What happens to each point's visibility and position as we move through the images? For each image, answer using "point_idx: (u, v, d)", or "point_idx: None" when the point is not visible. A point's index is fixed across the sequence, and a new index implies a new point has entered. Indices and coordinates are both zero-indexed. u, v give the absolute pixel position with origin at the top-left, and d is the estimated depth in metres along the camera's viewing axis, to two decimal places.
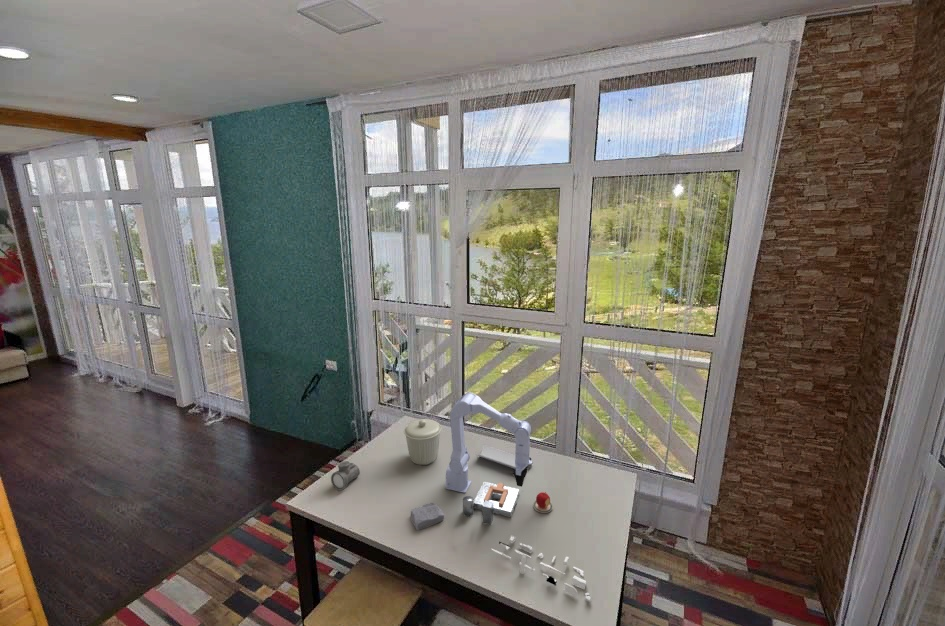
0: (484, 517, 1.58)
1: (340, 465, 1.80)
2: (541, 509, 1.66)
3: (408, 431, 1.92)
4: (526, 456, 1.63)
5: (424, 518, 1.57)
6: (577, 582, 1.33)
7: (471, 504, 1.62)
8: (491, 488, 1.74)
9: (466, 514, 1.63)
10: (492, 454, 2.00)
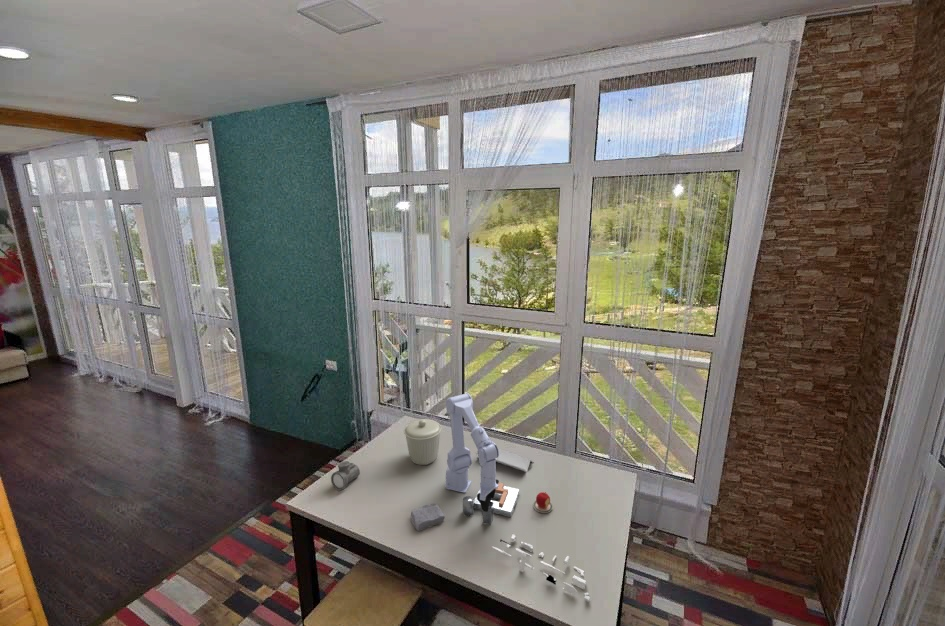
0: (484, 517, 1.58)
1: (340, 465, 1.80)
2: (541, 509, 1.66)
3: (408, 431, 1.92)
4: (491, 479, 1.53)
5: (424, 519, 1.57)
6: (577, 582, 1.33)
7: (471, 504, 1.62)
8: None
9: (466, 514, 1.63)
10: None
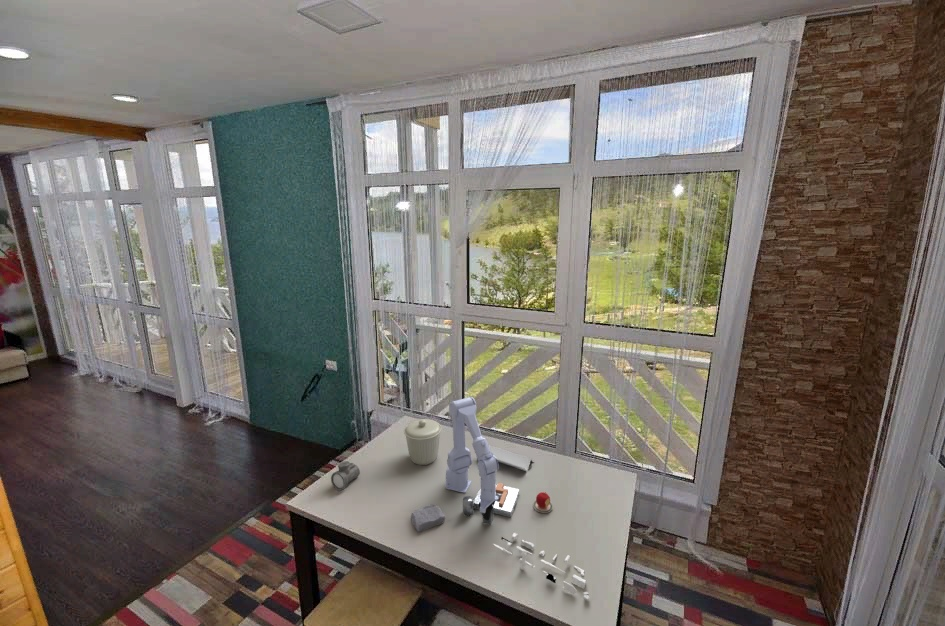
0: None
1: (340, 465, 1.80)
2: (541, 509, 1.66)
3: (408, 431, 1.92)
4: (491, 492, 1.54)
5: (425, 520, 1.56)
6: (577, 581, 1.33)
7: (471, 504, 1.62)
8: None
9: (466, 514, 1.63)
10: (493, 453, 2.01)
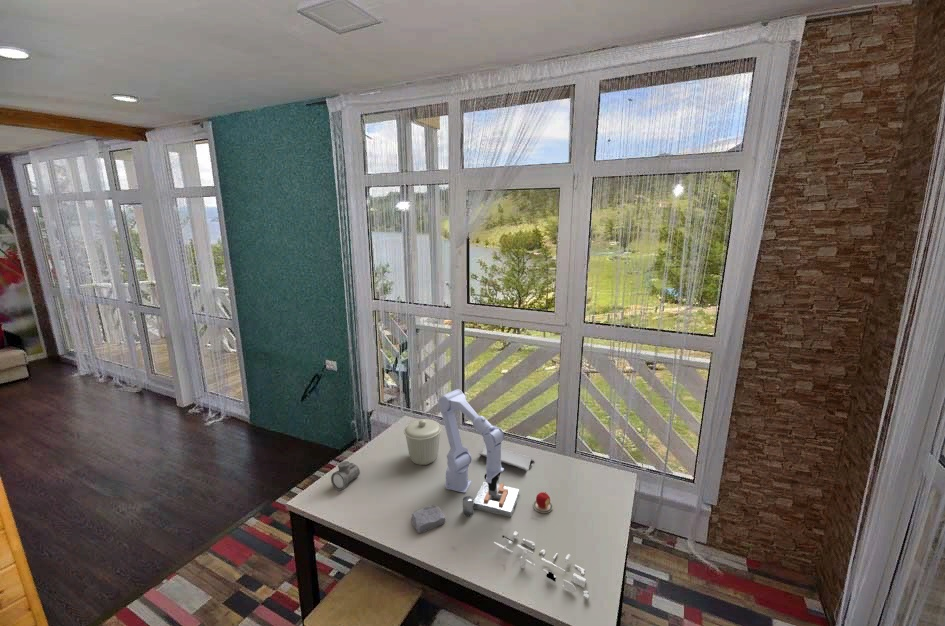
0: None
1: (340, 465, 1.80)
2: (541, 509, 1.66)
3: (408, 431, 1.92)
4: (497, 463, 1.59)
5: (426, 521, 1.56)
6: (577, 580, 1.33)
7: (471, 504, 1.62)
8: None
9: (466, 514, 1.63)
10: None
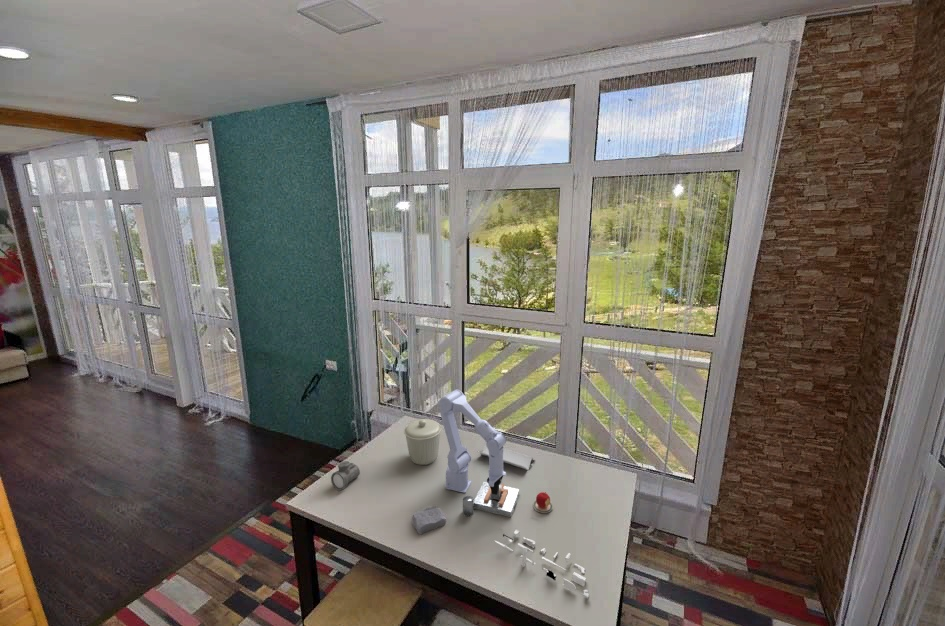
0: None
1: (340, 465, 1.80)
2: (541, 509, 1.66)
3: (408, 431, 1.92)
4: (499, 467, 1.63)
5: (426, 522, 1.55)
6: (577, 579, 1.34)
7: (471, 504, 1.62)
8: None
9: (466, 514, 1.63)
10: None
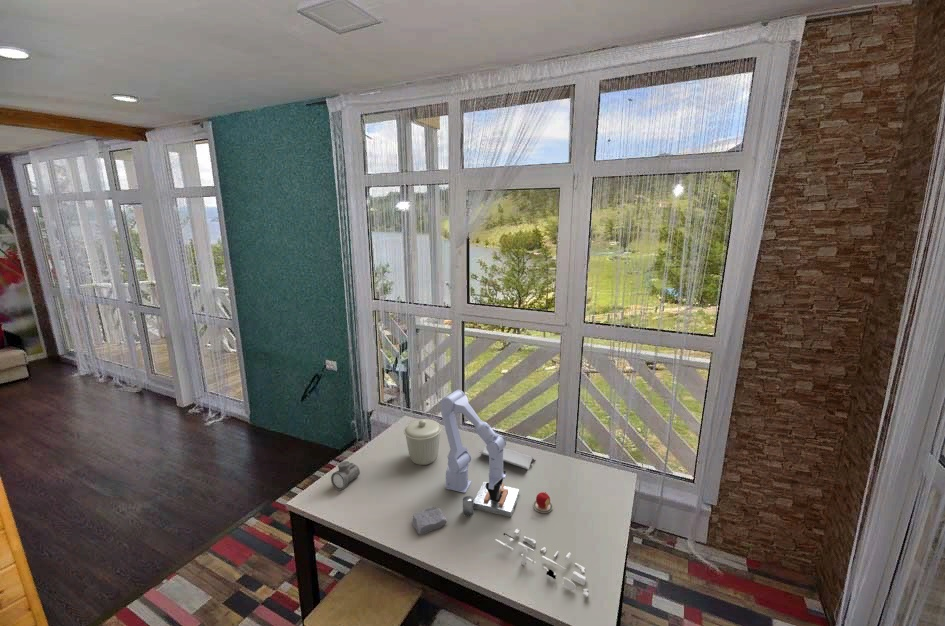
0: None
1: (340, 465, 1.80)
2: (541, 509, 1.66)
3: (408, 431, 1.92)
4: (499, 470, 1.64)
5: (426, 523, 1.55)
6: (577, 578, 1.34)
7: (471, 504, 1.62)
8: None
9: (466, 514, 1.63)
10: None
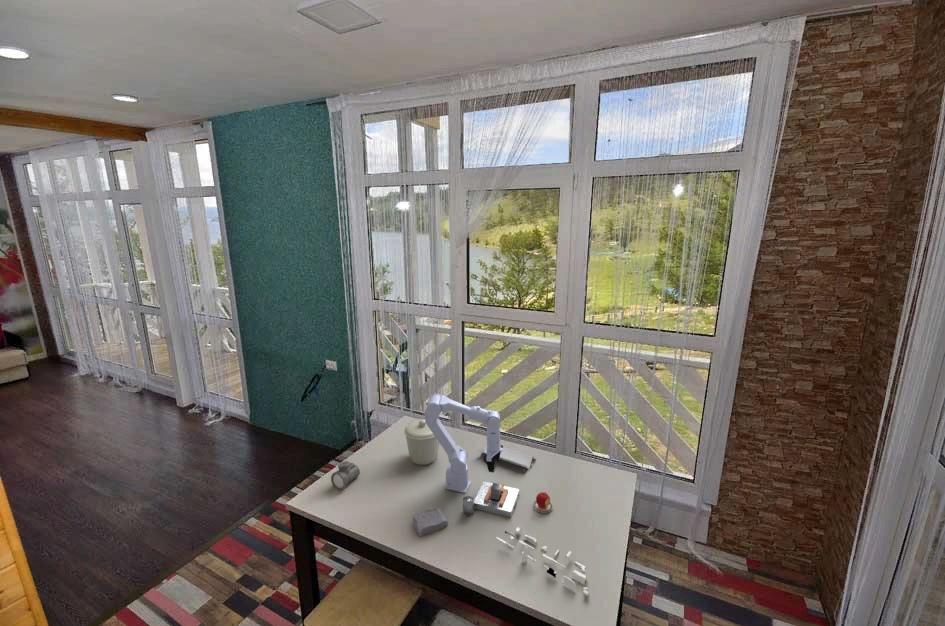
0: (492, 498, 1.68)
1: (340, 465, 1.80)
2: (541, 509, 1.66)
3: (408, 431, 1.92)
4: (496, 443, 1.72)
5: (427, 524, 1.54)
6: (577, 577, 1.35)
7: (471, 504, 1.62)
8: None
9: (466, 514, 1.63)
10: None
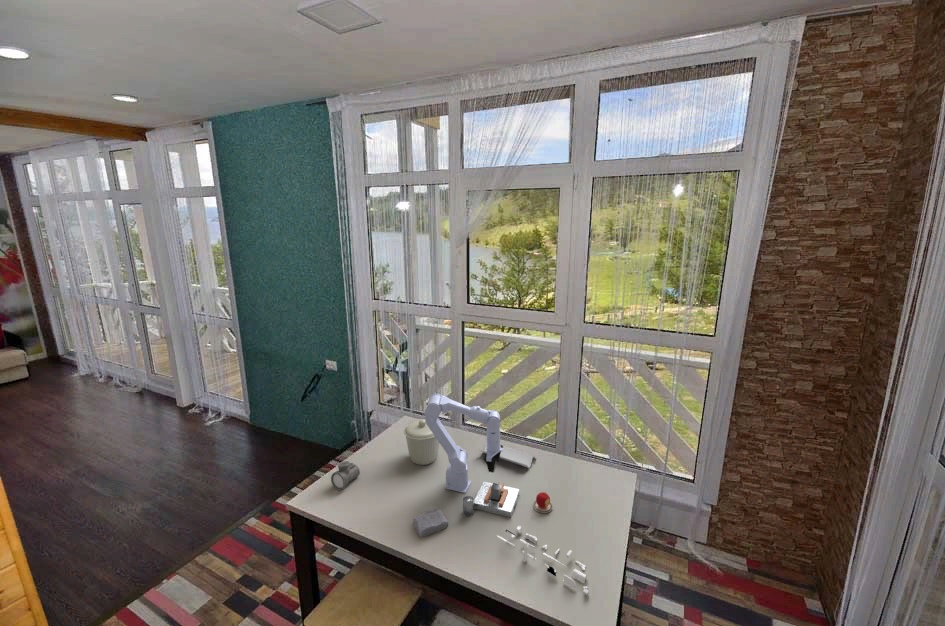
0: (492, 498, 1.68)
1: (340, 465, 1.80)
2: (541, 509, 1.66)
3: (408, 431, 1.92)
4: (496, 443, 1.72)
5: (428, 525, 1.54)
6: (577, 576, 1.35)
7: (471, 504, 1.62)
8: None
9: (466, 514, 1.63)
10: None
